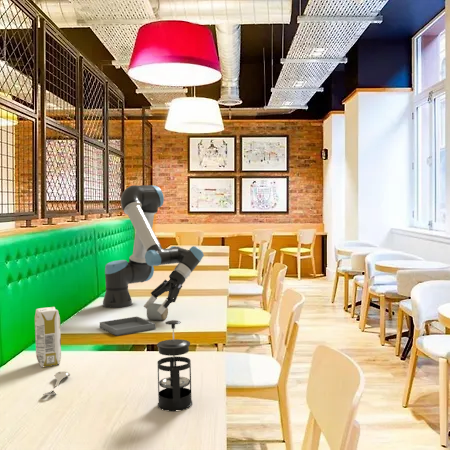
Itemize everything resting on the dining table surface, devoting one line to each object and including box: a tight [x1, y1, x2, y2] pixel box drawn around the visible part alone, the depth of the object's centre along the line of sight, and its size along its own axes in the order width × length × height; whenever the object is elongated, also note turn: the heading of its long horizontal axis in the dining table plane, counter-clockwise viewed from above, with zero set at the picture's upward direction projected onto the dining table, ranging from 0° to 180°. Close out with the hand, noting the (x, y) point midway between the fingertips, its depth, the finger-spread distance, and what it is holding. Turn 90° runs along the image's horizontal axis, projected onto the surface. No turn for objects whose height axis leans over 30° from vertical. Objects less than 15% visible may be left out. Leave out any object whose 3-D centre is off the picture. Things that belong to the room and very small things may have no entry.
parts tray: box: [99, 316, 157, 337], centre depth 237 cm, size 18×18×2 cm
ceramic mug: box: [146, 302, 169, 321], centre depth 255 cm, size 11×8×8 cm
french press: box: [156, 319, 193, 412], centre depth 148 cm, size 12×9×23 cm
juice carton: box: [34, 306, 62, 368], centre depth 188 cm, size 8×9×19 cm
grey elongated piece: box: [42, 371, 71, 396], centre depth 164 cm, size 20×4×5 cm
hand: (152, 310), depth 252 cm, fingers open, 13 cm apart
